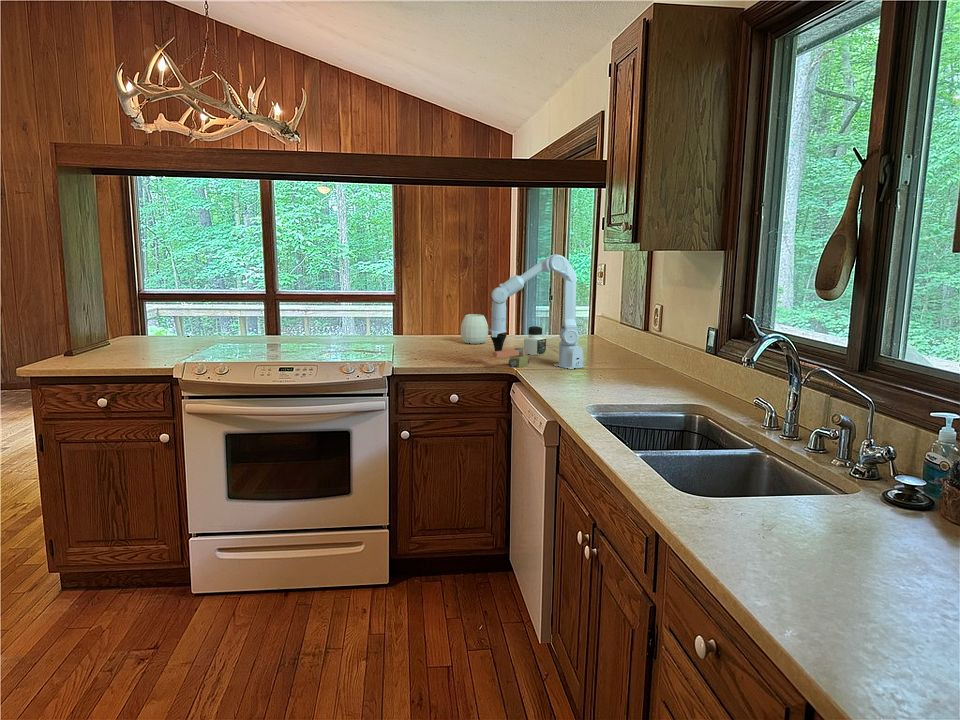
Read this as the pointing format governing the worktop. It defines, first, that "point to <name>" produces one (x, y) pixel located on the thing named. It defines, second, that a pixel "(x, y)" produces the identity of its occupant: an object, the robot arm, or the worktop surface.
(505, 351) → the lever
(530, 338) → the medicine bottle
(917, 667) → the worktop surface
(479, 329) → the cup
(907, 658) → the worktop surface
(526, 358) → the valve
